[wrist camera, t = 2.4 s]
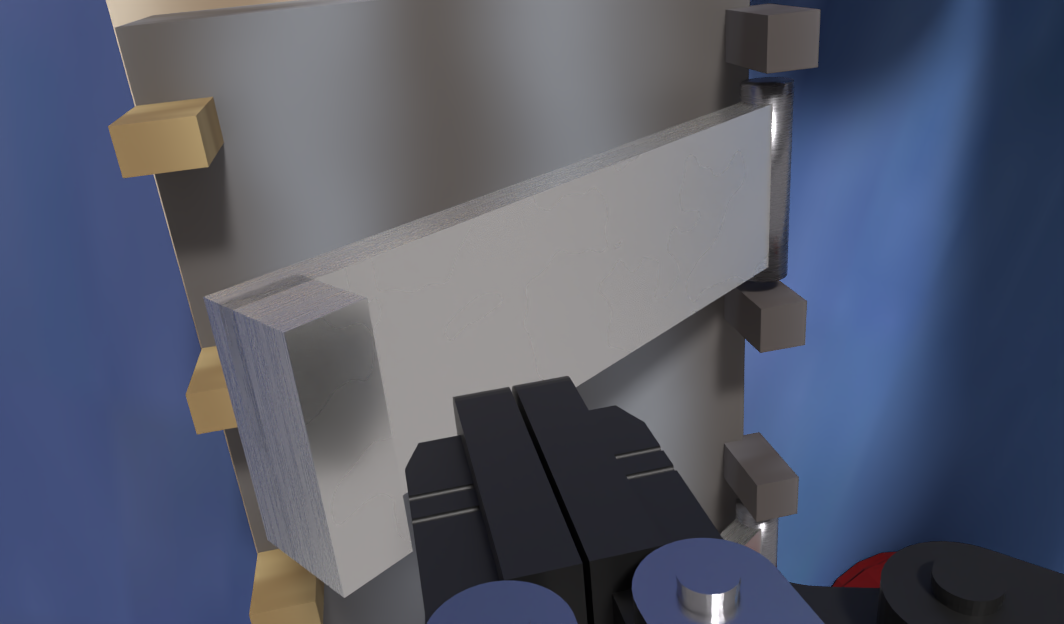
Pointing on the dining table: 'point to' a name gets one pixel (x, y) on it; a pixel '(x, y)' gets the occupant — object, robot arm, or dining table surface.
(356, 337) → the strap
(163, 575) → the dining table surface
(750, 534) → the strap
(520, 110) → the heat sink base
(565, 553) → the robot arm
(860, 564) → the plastic cup
